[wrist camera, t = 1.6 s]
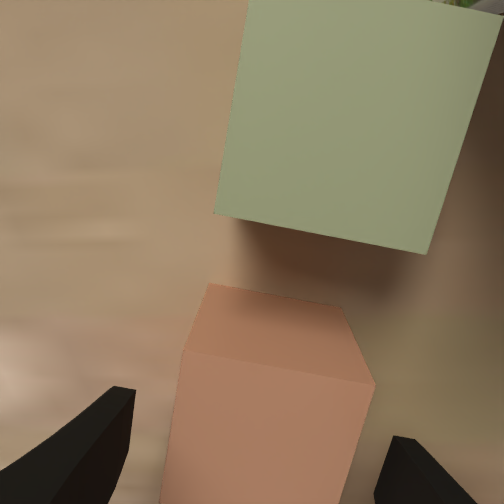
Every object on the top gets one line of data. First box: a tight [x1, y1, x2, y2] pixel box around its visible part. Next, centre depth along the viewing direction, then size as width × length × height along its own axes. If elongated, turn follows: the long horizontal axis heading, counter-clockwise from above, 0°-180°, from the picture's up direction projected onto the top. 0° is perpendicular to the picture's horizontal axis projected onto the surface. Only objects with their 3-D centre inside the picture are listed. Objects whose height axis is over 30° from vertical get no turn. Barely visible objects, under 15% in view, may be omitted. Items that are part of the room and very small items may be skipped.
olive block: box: [214, 0, 504, 255], centre depth 11 cm, size 5×5×5 cm
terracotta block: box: [159, 283, 376, 504], centre depth 13 cm, size 5×5×5 cm
